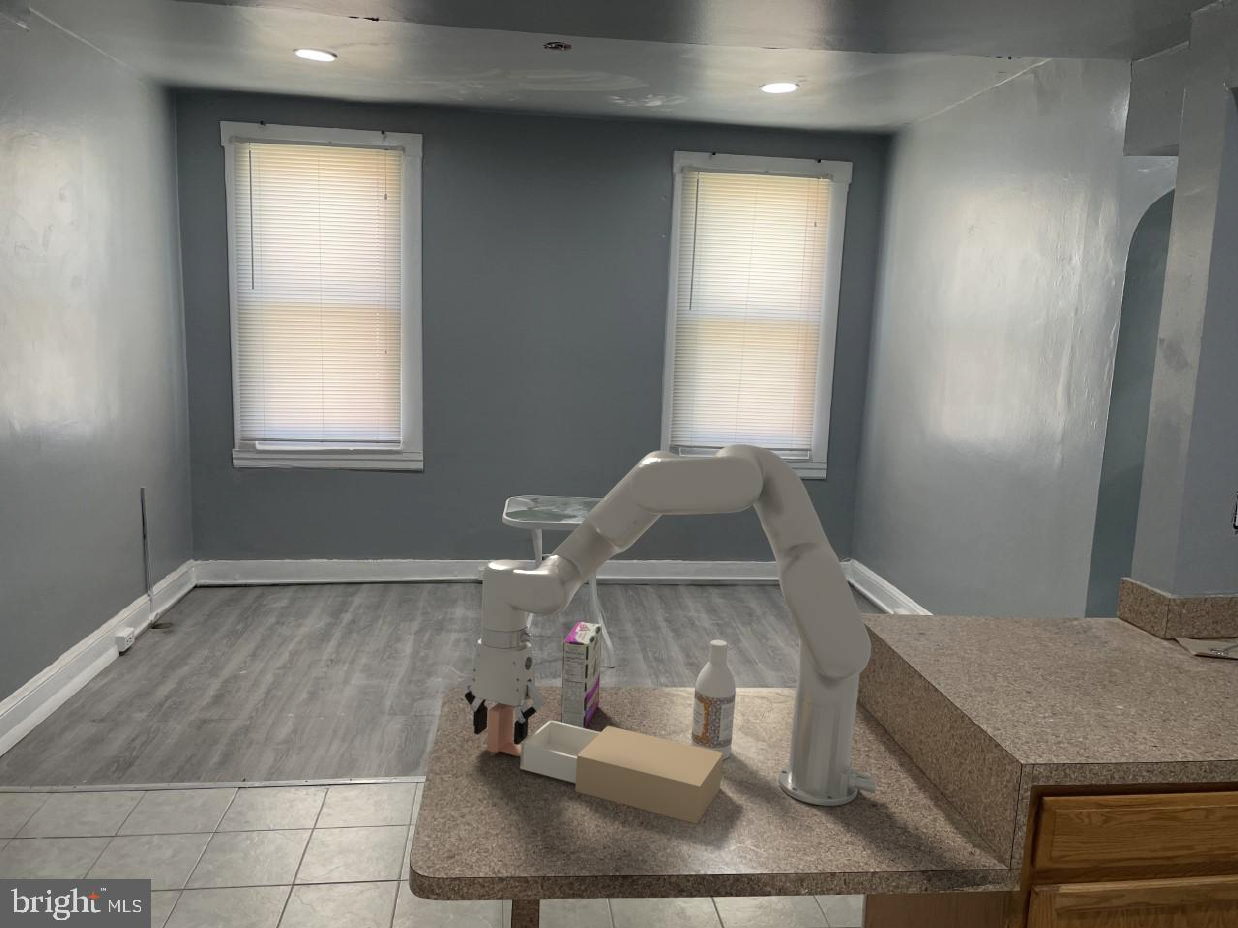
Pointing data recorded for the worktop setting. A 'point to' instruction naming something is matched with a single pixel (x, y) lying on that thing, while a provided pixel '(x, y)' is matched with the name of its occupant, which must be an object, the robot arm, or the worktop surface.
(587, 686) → the candy bar box
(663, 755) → the sleeve
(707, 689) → the bath foam
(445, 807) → the worktop surface
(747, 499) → the robot arm
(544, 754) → the tray
